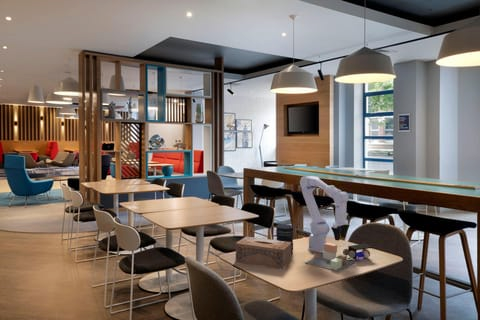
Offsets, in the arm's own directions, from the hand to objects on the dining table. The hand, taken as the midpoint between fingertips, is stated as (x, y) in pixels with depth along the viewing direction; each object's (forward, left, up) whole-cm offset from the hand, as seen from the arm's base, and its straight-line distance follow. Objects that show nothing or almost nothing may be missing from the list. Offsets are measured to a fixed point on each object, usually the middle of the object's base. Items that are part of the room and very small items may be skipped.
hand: (340, 238), depth 205 cm
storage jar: (-27, -13, -11) cm, 32 cm away
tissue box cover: (-27, -33, -11) cm, 44 cm away
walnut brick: (+6, -10, -10) cm, 15 cm away
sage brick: (+6, -17, -10) cm, 21 cm away
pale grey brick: (-3, -6, -10) cm, 12 cm away
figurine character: (+8, +4, -10) cm, 14 cm away
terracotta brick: (-2, -6, -6) cm, 9 cm away
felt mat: (0, -11, -10) cm, 15 cm away
